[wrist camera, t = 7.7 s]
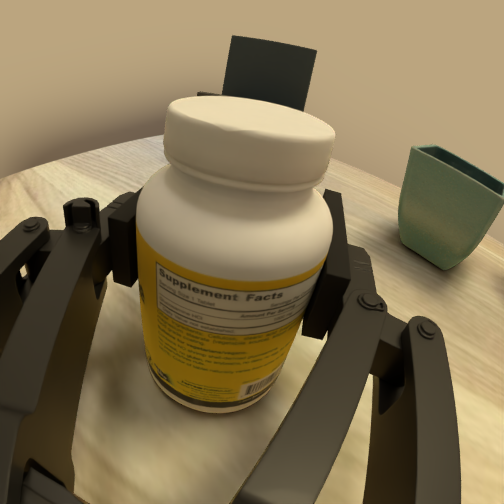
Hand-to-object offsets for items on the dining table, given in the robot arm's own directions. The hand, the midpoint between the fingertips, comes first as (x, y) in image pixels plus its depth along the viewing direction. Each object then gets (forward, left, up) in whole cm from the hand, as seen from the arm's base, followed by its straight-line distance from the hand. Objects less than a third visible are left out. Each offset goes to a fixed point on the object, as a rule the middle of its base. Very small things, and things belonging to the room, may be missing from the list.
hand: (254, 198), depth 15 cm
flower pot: (+16, +12, -6) cm, 21 cm away
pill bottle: (0, -5, -6) cm, 8 cm away
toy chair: (-4, +25, -6) cm, 26 cm away
